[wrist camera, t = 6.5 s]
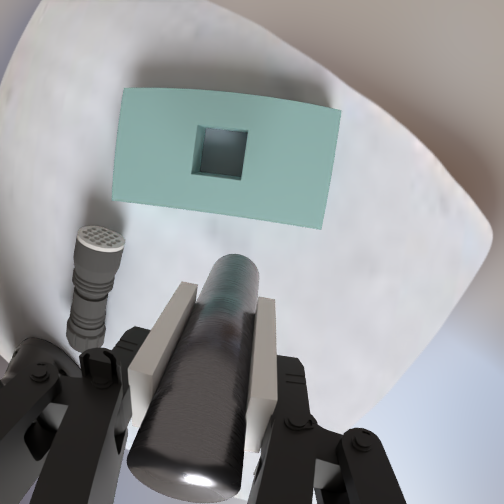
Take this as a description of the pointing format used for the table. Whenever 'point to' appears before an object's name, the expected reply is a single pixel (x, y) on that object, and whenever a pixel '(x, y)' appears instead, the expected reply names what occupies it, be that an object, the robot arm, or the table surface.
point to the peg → (203, 394)
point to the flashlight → (92, 285)
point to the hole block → (255, 161)
